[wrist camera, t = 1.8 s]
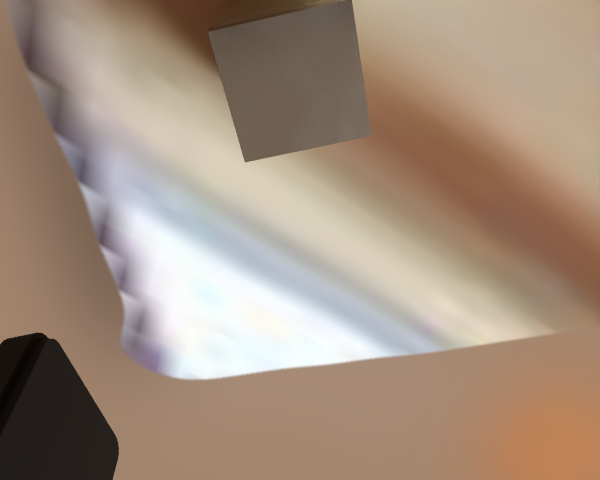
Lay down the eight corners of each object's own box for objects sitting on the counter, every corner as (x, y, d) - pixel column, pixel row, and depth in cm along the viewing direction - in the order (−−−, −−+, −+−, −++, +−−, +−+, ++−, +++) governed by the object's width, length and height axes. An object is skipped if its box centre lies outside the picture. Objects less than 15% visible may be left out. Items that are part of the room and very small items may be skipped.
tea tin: (222, -4, 26) (207, 31, 20) (332, -30, 25) (351, -1, 19) (250, 103, 29) (244, 162, 23) (350, 81, 28) (371, 135, 22)
